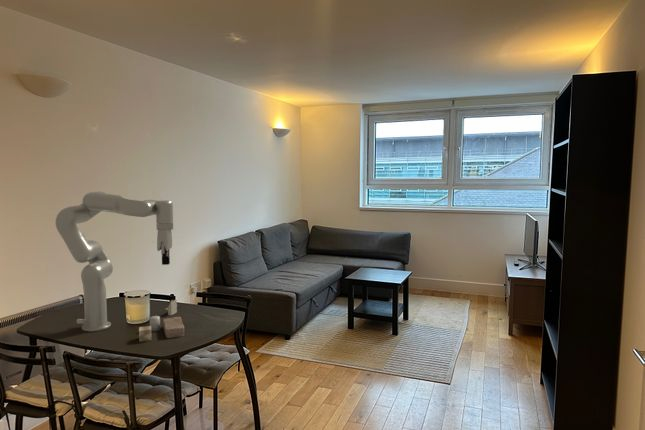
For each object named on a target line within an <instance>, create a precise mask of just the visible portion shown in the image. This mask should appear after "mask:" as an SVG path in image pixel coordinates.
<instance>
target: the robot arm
mask: <svg viewBox="0 0 645 430" xmlns="http://www.w3.org/2000/svg"><path fill="white" fill-rule="evenodd" d="M173 210H174V206H173V202H172V201H171V200H154V199H146V200H135V199H128V198H124V197H123V196H122V195H119V194H111V193H110V194H109V193H106V192H104V191H91V192H87V193H86V194H85V195H84V196H83V198H82V203H80V204H79V205H71V206H67V207H65V208H63V209H61V210H60V211H59V212H58V213H57V215H56V218H55V228H56V231H57V232H58V234H59V235H60V236H61V238H62V240H63V241H64V243H65V245H66V247H67V249H68V251H69V252H70V254H71V256H72V257H73V259H74V261H76V262H77V263H79V264H85V263H88V264H86V265H85V266H84V267H83V268H82V269H81V272H80V279H81V283H82V287H83V302H84V304H83V305H84V318H77V319H76V324H77V325H82V326H81V330H82V331H84V332H99V331H104V330H106V329H108V328H110V327H111V325H112V322H110V321H108V311H107V309H108V308H107V289H106V288H107V287H106V285H105V281H104V280H105V279H107V278H108V277H110V276H111V275H112V273H113V270H114V269H113V268H114V267H113V263H112V262H111V259H110V258H109V255H108V254H107V252H106V251H105V250H104V248H103V246H102V245H101V244H100V243H99V242H98V241H95V240H88V239H87V238H86V237H85V235H84V233H83V231H82V230H81V229H80V228H79V227H78V226H77V224H81V223H82V224H83V223H86V222H88V221H89V220H92V219H93V218H95V216H97V215H98V214H100V212H104V213H105V212H106V213H114V214H118V215H122V216H128V217H137V218H146V217H150V216H156V217H155V218H156V231H157V233H156V234H157V237H156V239H157V240H156V250H157V252H160V251H161V253H160V254H161V265H164V266H165V265H166V266H167V265H170V264H171V263H170V262H171V260H170V257H171V256H170V250H171V249H172V247H173V234H172V233H173V232H172V230H174V212H173Z"/></svg>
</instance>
